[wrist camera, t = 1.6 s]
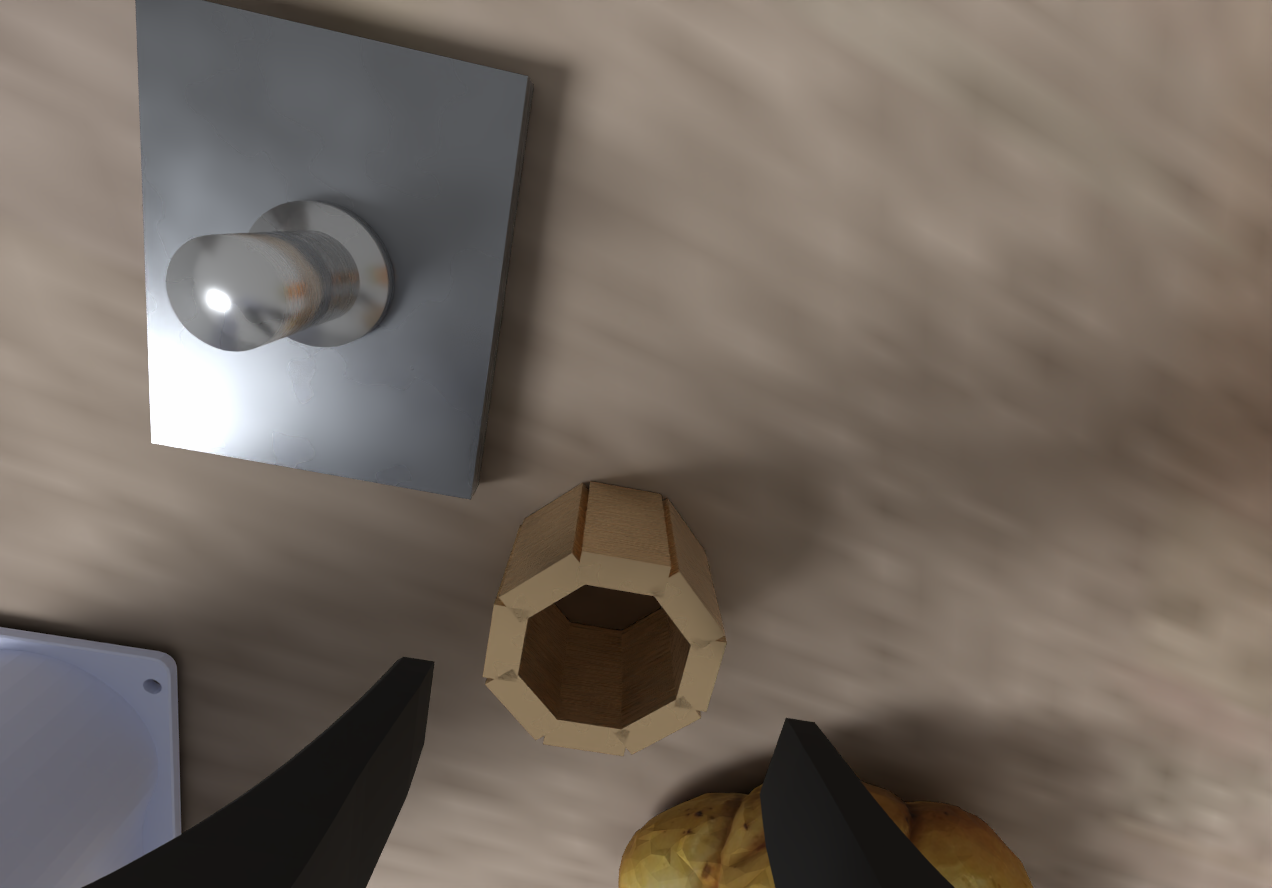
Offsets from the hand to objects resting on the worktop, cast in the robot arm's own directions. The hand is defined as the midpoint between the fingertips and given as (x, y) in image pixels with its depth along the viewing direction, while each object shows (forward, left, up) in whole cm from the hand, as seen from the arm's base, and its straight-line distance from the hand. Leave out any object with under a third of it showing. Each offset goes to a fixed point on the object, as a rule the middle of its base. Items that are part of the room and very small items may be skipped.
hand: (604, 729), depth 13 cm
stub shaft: (+7, +8, -6) cm, 12 cm away
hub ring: (0, 0, -6) cm, 6 cm away
